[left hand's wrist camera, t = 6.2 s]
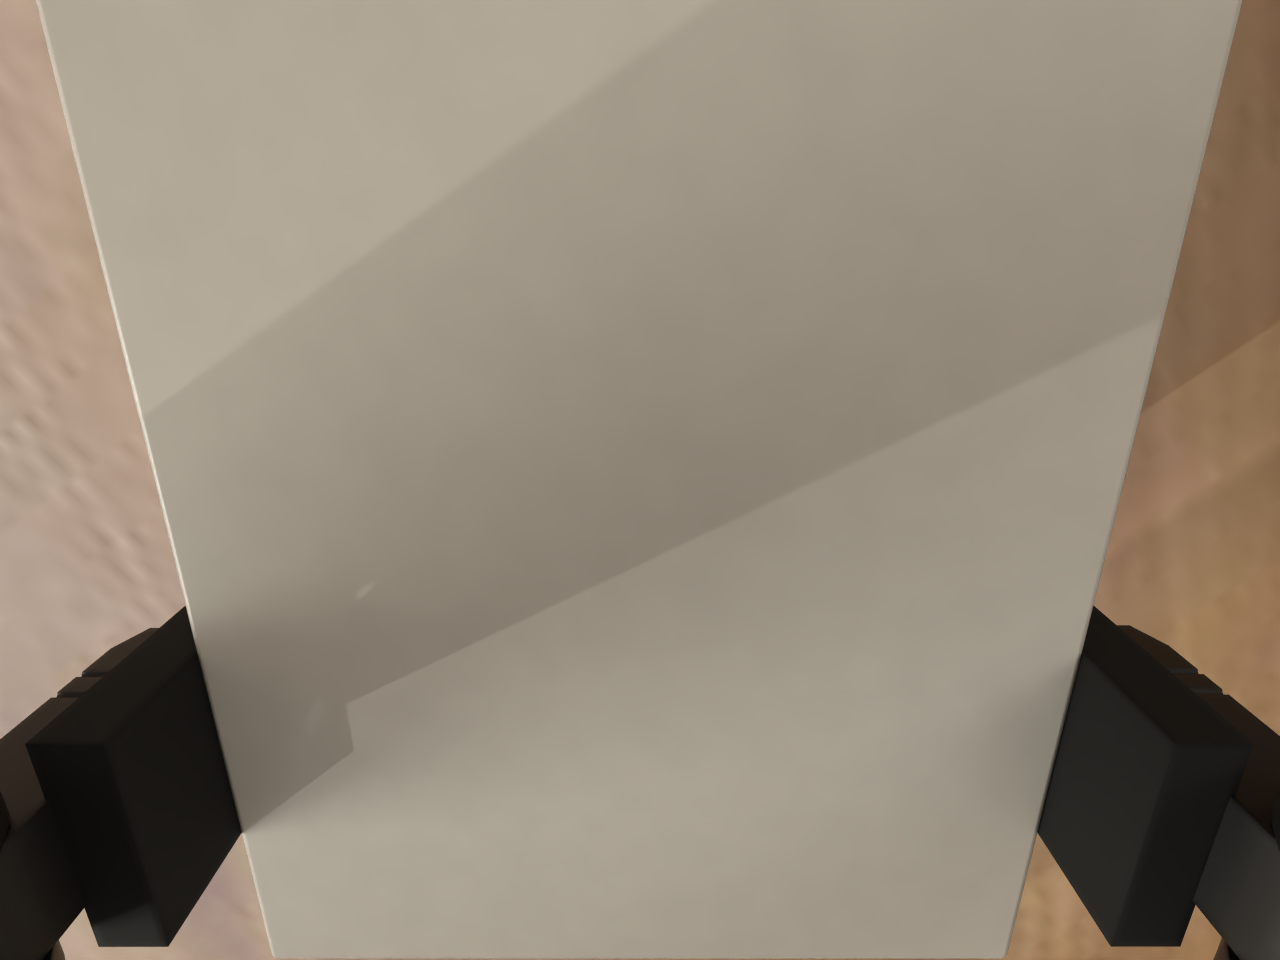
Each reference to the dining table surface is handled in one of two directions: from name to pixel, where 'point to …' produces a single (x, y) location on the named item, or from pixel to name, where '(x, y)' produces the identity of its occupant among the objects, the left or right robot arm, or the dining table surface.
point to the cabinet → (639, 440)
